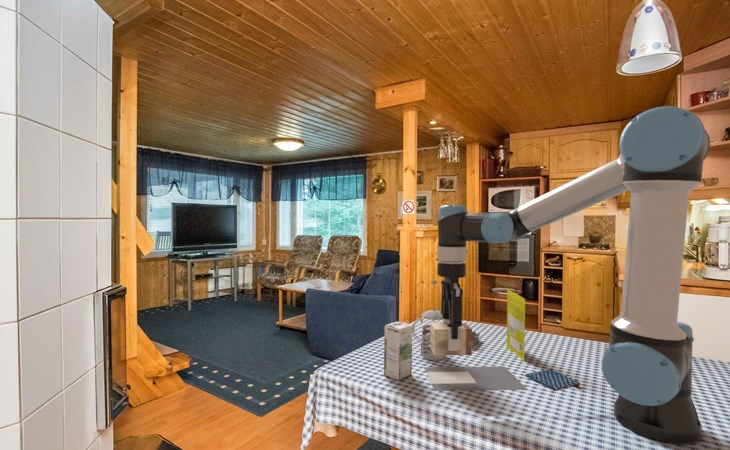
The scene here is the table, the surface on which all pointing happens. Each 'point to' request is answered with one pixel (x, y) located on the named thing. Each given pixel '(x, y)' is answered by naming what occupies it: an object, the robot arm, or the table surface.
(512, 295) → the food package
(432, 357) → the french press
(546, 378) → the woven mat
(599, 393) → the table surface
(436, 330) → the maple block
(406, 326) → the syrup box
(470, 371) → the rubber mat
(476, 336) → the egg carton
